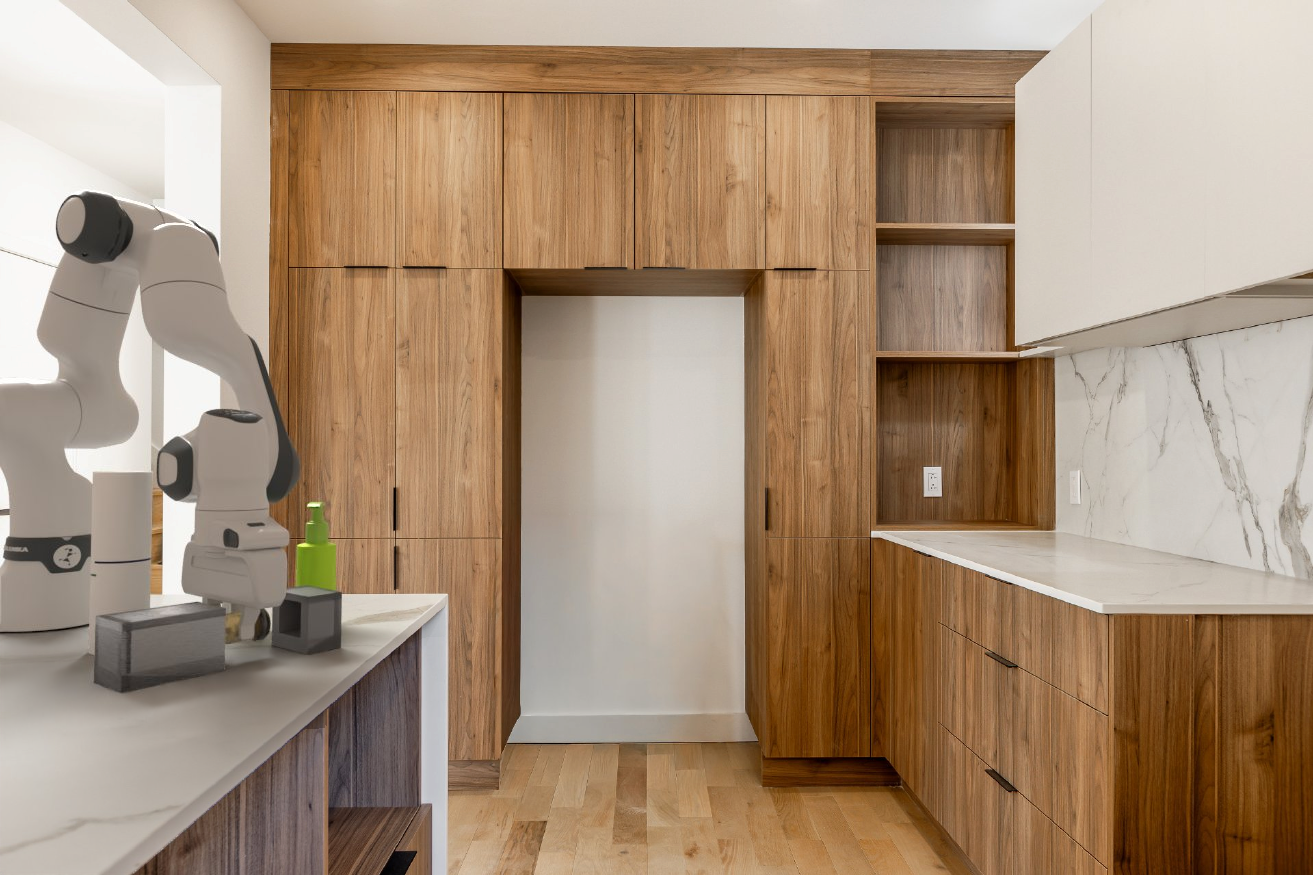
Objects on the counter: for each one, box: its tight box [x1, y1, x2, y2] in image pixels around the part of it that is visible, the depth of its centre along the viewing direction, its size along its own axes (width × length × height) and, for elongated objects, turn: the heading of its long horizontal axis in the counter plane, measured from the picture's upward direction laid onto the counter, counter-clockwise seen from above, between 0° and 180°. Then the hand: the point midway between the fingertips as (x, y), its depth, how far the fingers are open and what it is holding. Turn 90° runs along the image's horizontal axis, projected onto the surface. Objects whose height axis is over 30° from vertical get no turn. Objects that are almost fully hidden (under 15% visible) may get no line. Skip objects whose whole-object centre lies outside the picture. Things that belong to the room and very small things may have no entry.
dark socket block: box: [271, 585, 343, 655], centre depth 118 cm, size 5×9×8 cm, turn 55°
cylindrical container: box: [88, 470, 154, 656], centre depth 115 cm, size 7×7×25 cm
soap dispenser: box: [295, 501, 337, 591], centre depth 131 cm, size 6×7×20 cm
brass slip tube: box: [225, 608, 272, 646], centre depth 106 cm, size 16×5×5 cm, turn 145°
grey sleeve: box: [93, 601, 226, 694], centre depth 101 cm, size 12×7×8 cm, turn 145°
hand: (230, 634), depth 108 cm, fingers open, 6 cm apart
